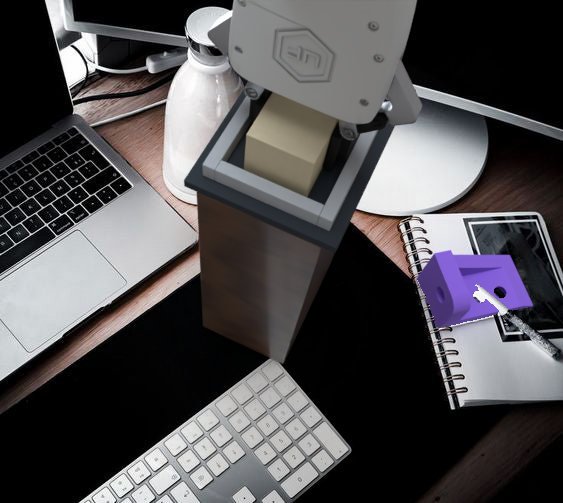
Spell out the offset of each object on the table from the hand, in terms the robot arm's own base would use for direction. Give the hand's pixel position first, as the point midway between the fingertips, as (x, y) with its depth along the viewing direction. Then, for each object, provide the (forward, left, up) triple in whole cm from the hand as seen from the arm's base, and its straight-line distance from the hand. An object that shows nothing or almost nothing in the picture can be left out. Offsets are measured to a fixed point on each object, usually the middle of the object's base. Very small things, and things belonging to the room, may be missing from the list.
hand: (299, 139), depth 46 cm
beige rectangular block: (0, 0, 0) cm, 0 cm away
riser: (0, 0, -29) cm, 29 cm away
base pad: (0, 0, -1) cm, 1 cm away
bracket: (-22, -11, -29) cm, 38 cm away
